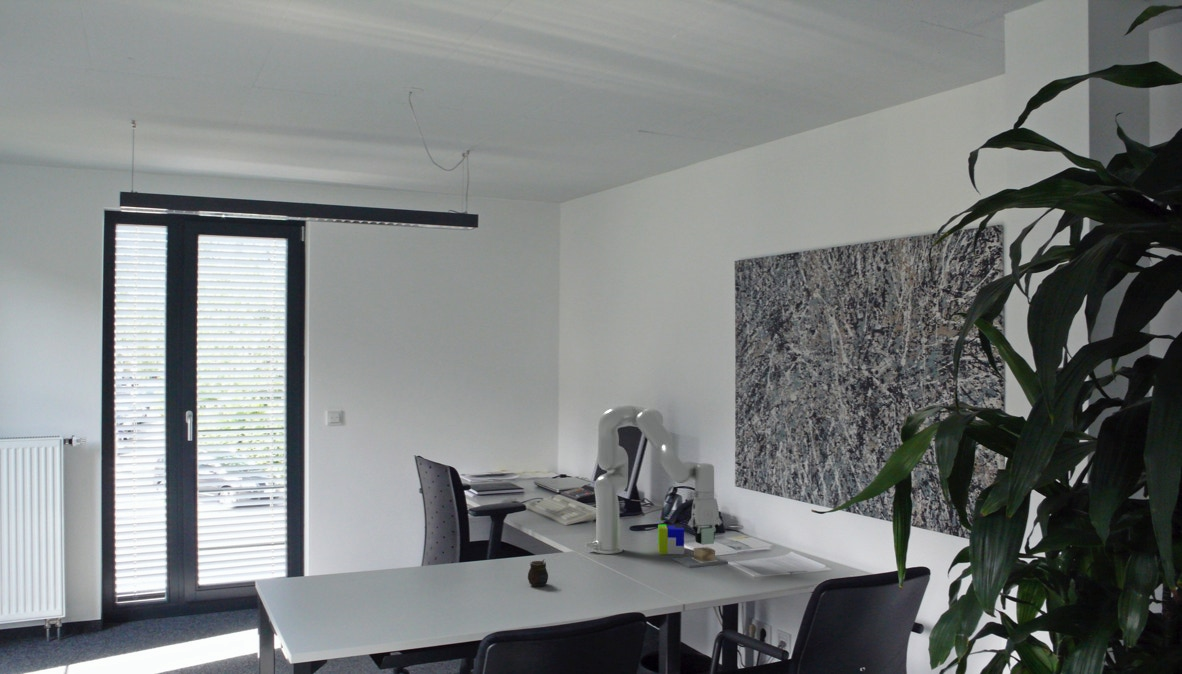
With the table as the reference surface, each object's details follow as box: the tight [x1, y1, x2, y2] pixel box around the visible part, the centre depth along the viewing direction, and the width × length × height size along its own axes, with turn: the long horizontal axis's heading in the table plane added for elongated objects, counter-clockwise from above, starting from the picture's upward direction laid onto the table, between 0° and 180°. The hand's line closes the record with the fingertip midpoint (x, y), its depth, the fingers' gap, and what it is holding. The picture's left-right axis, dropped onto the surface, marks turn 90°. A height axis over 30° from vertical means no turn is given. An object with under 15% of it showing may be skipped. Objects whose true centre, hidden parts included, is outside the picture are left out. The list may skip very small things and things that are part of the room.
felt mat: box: [674, 555, 729, 569], centre depth 342 cm, size 17×12×1 cm
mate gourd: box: [527, 559, 549, 588], centre depth 308 cm, size 7×8×10 cm
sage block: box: [700, 525, 715, 545], centre depth 342 cm, size 5×5×6 cm
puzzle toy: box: [657, 523, 685, 555], centre depth 360 cm, size 10×10×10 cm
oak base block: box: [693, 546, 716, 562], centre depth 342 cm, size 6×6×4 cm
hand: (705, 541), depth 342 cm, fingers closed on sage block, 5 cm apart
